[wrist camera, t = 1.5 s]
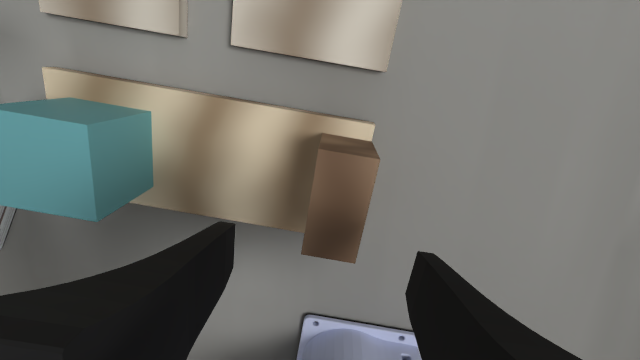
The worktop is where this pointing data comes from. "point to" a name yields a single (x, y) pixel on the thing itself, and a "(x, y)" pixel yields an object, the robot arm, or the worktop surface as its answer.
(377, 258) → the worktop surface
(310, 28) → the broken strip
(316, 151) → the wooden board with block
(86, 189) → the cube
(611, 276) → the worktop surface
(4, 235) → the supplement box
